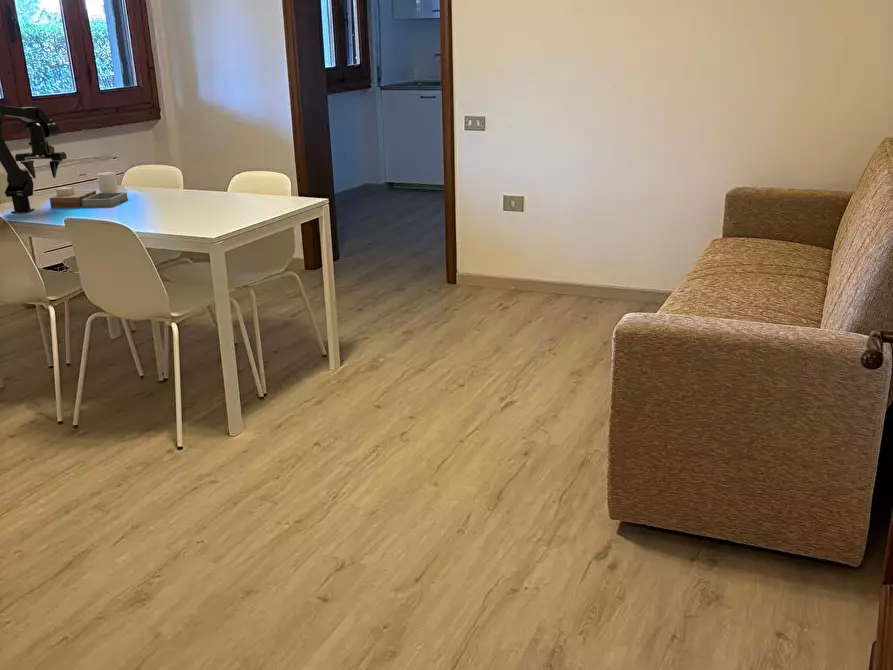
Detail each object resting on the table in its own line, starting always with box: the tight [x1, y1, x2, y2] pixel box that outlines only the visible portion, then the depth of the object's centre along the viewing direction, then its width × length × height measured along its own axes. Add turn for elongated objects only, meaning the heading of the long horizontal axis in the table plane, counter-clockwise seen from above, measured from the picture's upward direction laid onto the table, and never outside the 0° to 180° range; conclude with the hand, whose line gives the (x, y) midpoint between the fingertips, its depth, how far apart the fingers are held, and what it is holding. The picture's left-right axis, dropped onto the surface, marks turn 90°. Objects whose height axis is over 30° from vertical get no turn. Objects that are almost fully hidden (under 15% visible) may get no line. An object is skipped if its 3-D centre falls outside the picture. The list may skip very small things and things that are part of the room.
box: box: [82, 191, 128, 208], centre depth 341 cm, size 16×12×3 cm
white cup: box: [96, 171, 119, 193], centre depth 355 cm, size 8×8×10 cm
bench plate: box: [49, 190, 97, 209], centre depth 341 cm, size 16×12×4 cm
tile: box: [55, 186, 75, 196], centre depth 340 cm, size 5×5×2 cm
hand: (44, 178), depth 338 cm, fingers open, 8 cm apart
